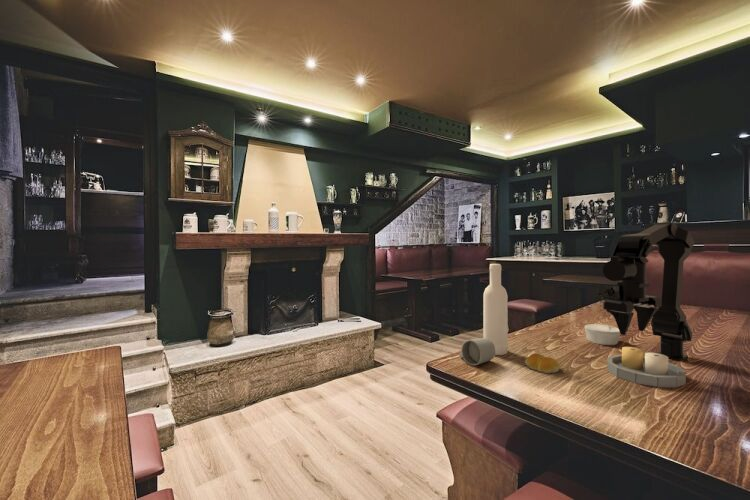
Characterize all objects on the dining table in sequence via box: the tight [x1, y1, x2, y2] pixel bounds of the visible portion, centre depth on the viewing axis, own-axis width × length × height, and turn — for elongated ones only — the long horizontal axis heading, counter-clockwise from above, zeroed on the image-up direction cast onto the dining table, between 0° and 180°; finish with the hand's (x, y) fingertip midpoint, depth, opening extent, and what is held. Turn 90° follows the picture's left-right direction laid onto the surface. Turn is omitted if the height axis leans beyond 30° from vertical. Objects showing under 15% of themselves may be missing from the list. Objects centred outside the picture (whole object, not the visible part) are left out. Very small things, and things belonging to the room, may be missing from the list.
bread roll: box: [524, 353, 561, 374], centre depth 104 cm, size 8×9×4 cm
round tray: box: [606, 354, 687, 388], centre depth 98 cm, size 17×17×3 cm
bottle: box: [482, 263, 509, 356], centre depth 118 cm, size 8×8×30 cm
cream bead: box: [644, 352, 669, 376], centre depth 95 cm, size 5×5×5 cm
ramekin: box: [584, 323, 621, 346], centre depth 129 cm, size 11×11×5 cm
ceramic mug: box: [459, 337, 496, 366], centre depth 110 cm, size 11×8×8 cm
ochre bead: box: [621, 346, 644, 370], centre depth 101 cm, size 5×5×5 cm
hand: (632, 332), depth 100 cm, fingers open, 9 cm apart
